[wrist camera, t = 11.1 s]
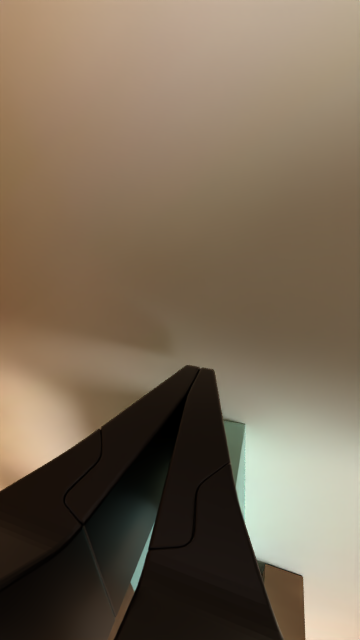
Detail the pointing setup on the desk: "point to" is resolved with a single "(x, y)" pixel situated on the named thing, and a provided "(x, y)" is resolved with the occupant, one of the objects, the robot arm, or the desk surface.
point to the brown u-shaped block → (282, 596)
